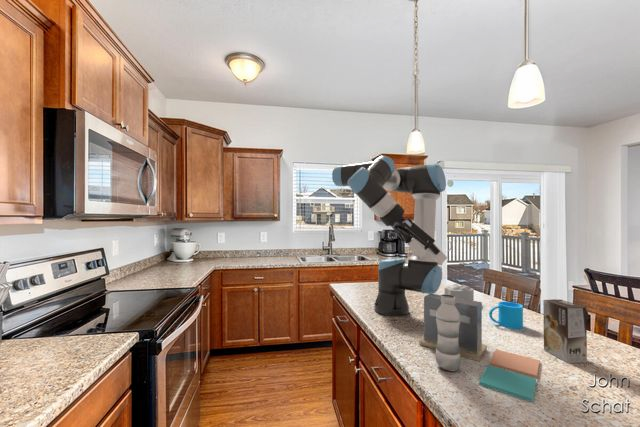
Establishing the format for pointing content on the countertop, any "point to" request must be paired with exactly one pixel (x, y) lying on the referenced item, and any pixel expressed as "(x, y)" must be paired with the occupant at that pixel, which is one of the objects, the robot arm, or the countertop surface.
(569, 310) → the coffee box
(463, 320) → the box
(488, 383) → the teal pad
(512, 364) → the terracotta pad
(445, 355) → the plastic bottle
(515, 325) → the mug
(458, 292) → the lumpy-topped squat cylinder
